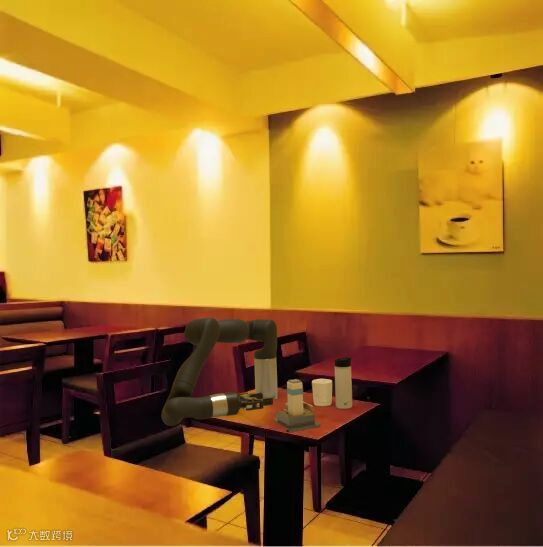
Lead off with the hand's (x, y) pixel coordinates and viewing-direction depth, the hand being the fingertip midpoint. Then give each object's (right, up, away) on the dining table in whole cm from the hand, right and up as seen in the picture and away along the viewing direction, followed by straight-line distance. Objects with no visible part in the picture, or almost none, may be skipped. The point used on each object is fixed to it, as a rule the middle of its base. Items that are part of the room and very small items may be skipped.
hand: (267, 398), depth 190 cm
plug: (+10, -9, +5) cm, 14 cm away
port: (+10, -10, +5) cm, 15 cm away
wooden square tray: (+12, -10, +20) cm, 25 cm away
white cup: (+22, -10, +28) cm, 36 cm away
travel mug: (+29, -9, +22) cm, 38 cm away
